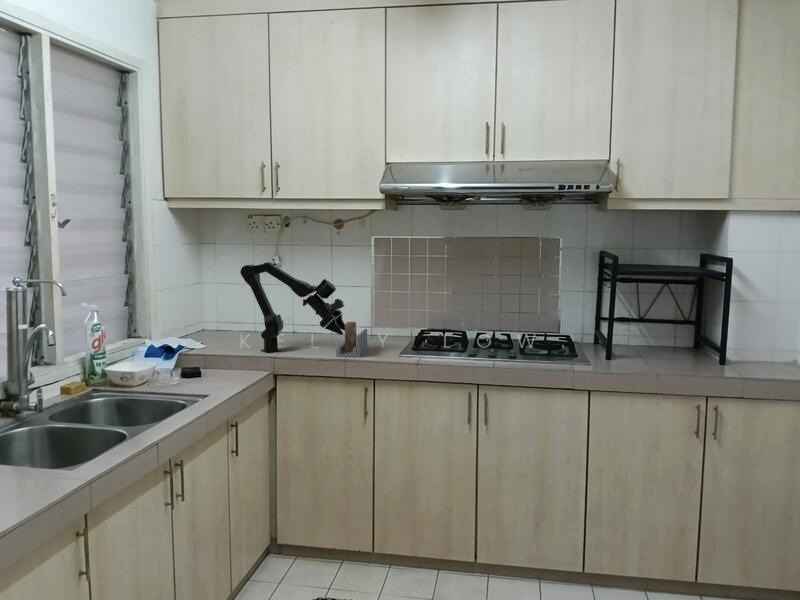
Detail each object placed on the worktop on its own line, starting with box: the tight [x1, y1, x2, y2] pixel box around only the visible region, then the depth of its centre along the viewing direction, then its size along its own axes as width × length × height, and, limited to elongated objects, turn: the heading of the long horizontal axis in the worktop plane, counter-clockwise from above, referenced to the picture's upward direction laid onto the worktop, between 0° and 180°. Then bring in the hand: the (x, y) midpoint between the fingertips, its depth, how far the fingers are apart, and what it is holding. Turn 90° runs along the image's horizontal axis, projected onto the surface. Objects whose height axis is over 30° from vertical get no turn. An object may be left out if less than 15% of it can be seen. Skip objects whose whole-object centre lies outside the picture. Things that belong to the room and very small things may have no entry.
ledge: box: [335, 328, 368, 358], centre depth 274 cm, size 10×18×9 cm, turn 173°
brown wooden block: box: [344, 321, 357, 352], centre depth 274 cm, size 4×6×12 cm
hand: (344, 332), depth 274 cm, fingers open, 9 cm apart
